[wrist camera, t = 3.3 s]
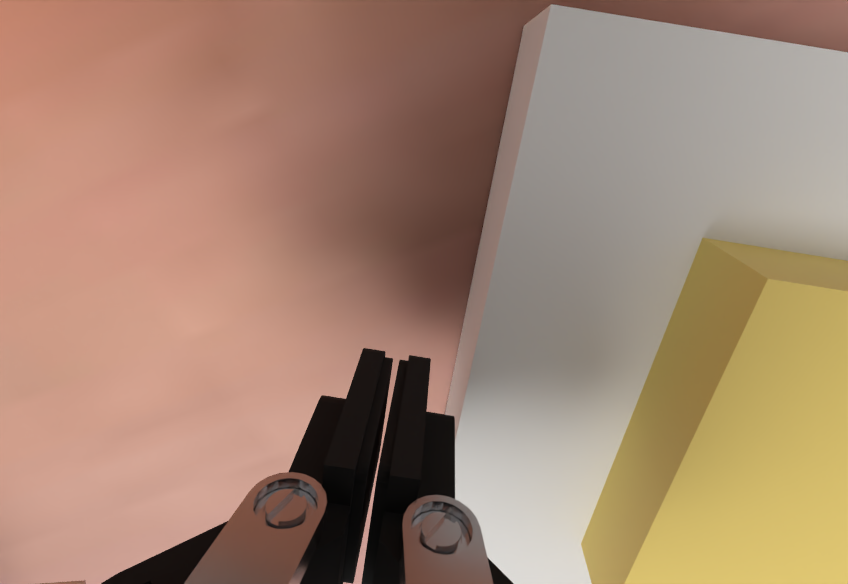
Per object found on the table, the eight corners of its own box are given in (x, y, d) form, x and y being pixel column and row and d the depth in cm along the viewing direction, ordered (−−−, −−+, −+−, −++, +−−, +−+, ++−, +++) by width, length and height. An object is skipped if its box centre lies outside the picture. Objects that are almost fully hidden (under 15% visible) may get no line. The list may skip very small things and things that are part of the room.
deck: (523, 25, 13) (551, 3, 9) (1034, 108, 13) (1259, 119, 9) (425, 510, 20) (419, 605, 17) (754, 561, 20) (820, 666, 17)
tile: (702, 237, 11) (767, 279, 9) (1005, 285, 11) (1149, 339, 9) (580, 544, 15) (603, 627, 13) (802, 578, 15) (864, 667, 13)
